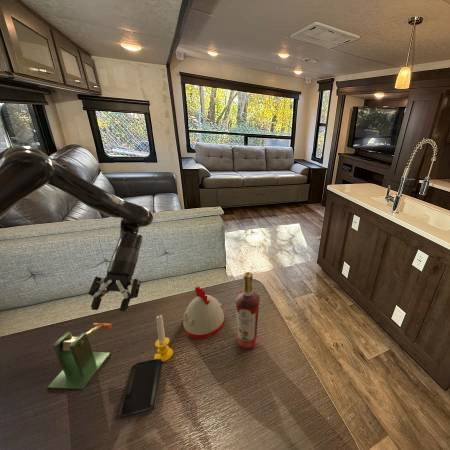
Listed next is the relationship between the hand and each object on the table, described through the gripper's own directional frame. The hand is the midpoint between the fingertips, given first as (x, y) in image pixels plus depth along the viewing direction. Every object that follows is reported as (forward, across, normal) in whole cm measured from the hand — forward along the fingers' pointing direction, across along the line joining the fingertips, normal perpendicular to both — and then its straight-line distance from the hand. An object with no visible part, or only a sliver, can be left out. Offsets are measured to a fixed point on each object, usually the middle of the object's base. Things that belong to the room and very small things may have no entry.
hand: (108, 310), depth 79 cm
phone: (+20, +19, -6) cm, 28 cm away
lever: (+8, 0, -6) cm, 10 cm away
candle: (+12, +20, +1) cm, 24 cm away
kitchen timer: (+3, +28, +11) cm, 30 cm away
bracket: (+17, 0, -3) cm, 17 cm away
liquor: (+8, +45, +5) cm, 46 cm away
